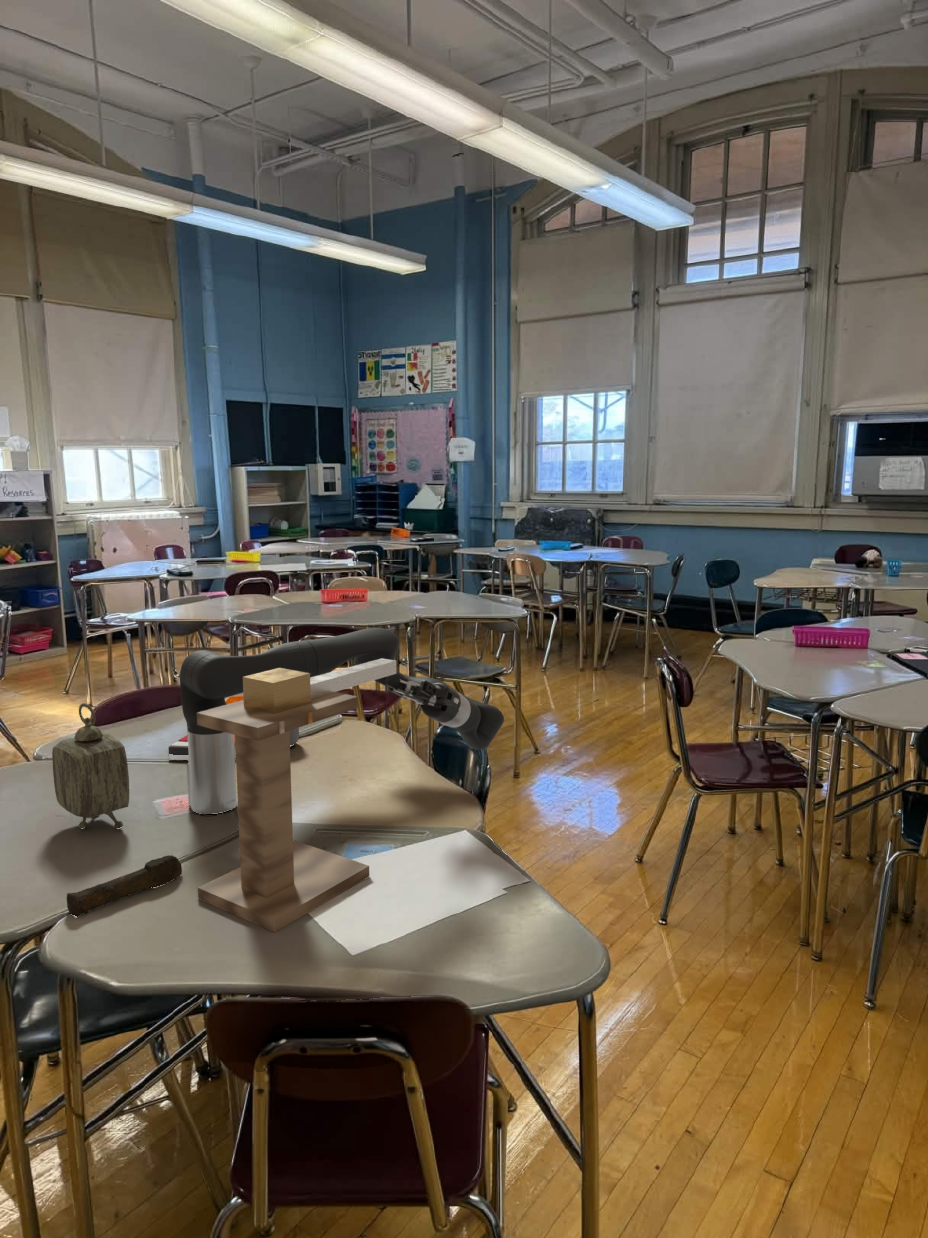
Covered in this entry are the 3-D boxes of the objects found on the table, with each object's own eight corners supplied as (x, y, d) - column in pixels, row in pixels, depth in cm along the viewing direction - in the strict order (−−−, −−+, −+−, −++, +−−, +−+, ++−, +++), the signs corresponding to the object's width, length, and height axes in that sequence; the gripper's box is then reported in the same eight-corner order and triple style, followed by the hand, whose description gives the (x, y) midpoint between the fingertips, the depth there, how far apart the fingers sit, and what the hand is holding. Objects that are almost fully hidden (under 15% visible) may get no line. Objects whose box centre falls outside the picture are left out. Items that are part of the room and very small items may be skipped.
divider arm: (243, 707, 134) (242, 676, 133) (375, 670, 160) (374, 644, 159) (274, 714, 130) (273, 683, 129) (403, 674, 156) (403, 648, 156)
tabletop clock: (132, 829, 164) (124, 706, 159) (85, 844, 157) (76, 716, 153) (100, 809, 173) (91, 693, 169) (55, 822, 167) (45, 702, 163)
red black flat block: (234, 730, 217) (210, 745, 203) (234, 746, 218) (211, 762, 203) (193, 729, 219) (167, 744, 204) (194, 745, 219) (168, 761, 204)
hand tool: (75, 923, 130) (73, 895, 129) (65, 913, 133) (63, 886, 132) (189, 882, 143) (187, 857, 142) (178, 874, 146) (177, 850, 145)
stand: (198, 899, 137) (188, 710, 132) (295, 850, 155) (290, 683, 149) (274, 932, 127) (267, 730, 122) (369, 876, 145) (366, 698, 139)
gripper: (424, 684, 180) (382, 659, 167) (479, 693, 172) (439, 668, 160) (414, 717, 178) (370, 694, 165) (469, 728, 170) (428, 705, 158)
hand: (404, 681), depth 162 cm, fingers open, 8 cm apart
